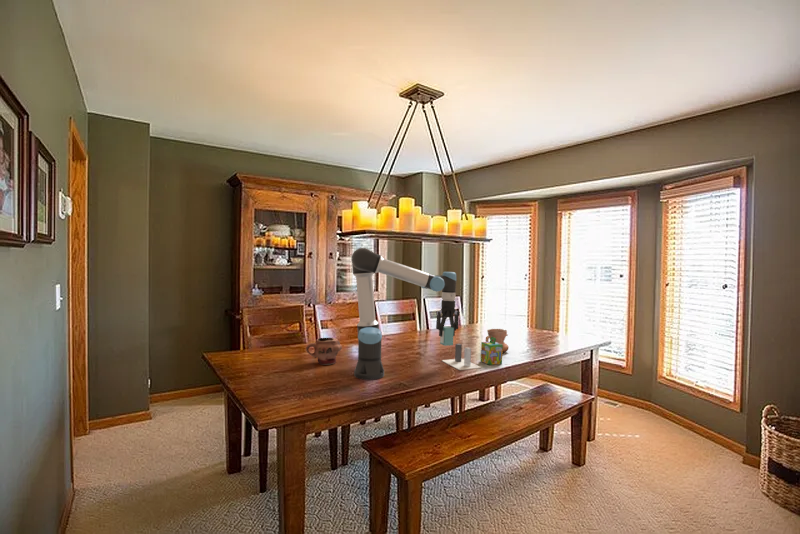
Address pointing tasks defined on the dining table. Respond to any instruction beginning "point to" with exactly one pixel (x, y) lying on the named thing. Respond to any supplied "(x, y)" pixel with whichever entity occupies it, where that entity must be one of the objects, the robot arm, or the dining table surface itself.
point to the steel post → (467, 357)
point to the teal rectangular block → (448, 336)
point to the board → (460, 364)
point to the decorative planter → (325, 350)
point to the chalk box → (491, 352)
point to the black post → (458, 352)
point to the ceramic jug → (498, 337)
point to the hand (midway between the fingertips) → (446, 342)
